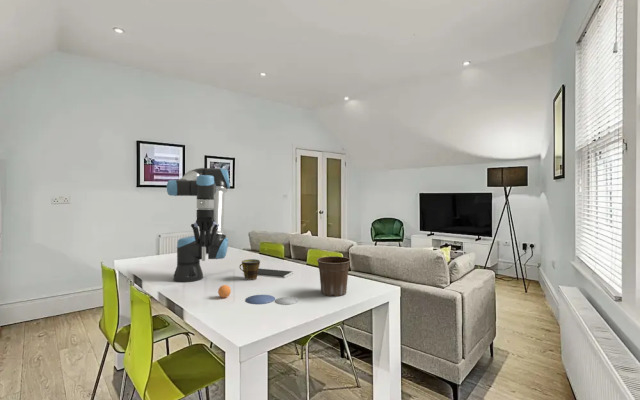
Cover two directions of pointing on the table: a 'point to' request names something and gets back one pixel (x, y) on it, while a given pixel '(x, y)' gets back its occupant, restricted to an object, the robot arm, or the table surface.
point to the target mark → (260, 299)
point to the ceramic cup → (250, 268)
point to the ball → (224, 291)
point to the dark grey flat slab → (274, 273)
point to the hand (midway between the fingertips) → (205, 260)
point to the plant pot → (333, 275)
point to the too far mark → (286, 300)
